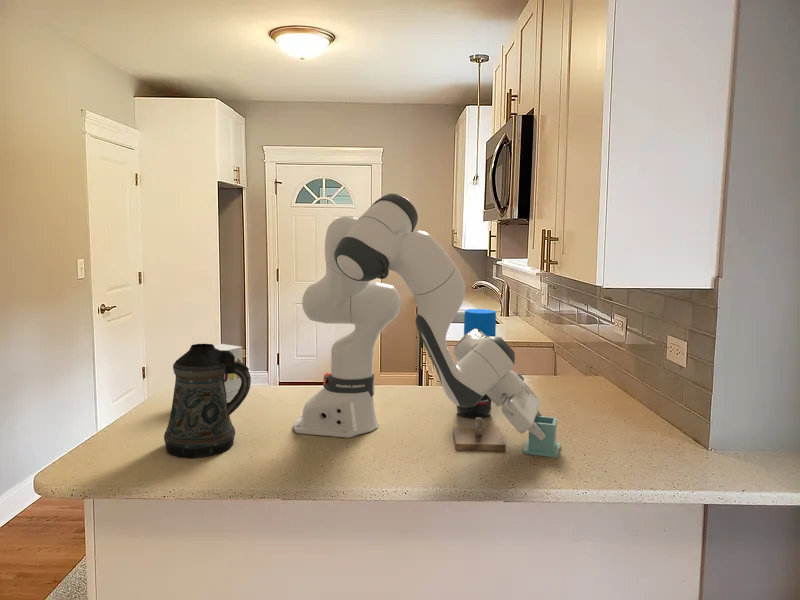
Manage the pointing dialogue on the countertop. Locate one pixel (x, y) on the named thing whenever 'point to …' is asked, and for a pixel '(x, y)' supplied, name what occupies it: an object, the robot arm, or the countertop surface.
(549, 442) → the flanged sleeve
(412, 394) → the countertop surface
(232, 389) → the supplement box
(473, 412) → the black white cylinder
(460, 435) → the walnut post base
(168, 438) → the beer stein
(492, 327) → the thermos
